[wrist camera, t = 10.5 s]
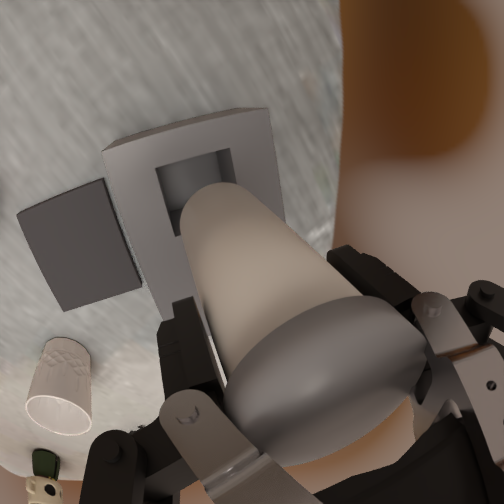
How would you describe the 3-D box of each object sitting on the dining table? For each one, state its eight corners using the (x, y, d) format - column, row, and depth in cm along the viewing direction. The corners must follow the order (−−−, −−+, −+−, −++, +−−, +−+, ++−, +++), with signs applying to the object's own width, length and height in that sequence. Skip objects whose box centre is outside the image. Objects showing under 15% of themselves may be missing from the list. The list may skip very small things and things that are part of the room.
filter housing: (114, 141, 25) (100, 151, 18) (238, 107, 27) (268, 108, 20) (167, 298, 34) (175, 346, 27) (266, 266, 36) (296, 305, 29)
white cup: (96, 379, 36) (94, 439, 27) (43, 371, 32) (33, 429, 24) (94, 337, 33) (88, 401, 24) (36, 328, 30) (18, 389, 21)
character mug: (74, 465, 44) (76, 517, 32) (50, 466, 42) (50, 516, 31) (42, 440, 38) (39, 499, 27) (18, 442, 37) (13, 497, 26)
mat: (19, 212, 24) (16, 215, 23) (103, 177, 26) (101, 179, 25) (65, 306, 30) (63, 312, 29) (141, 282, 32) (142, 287, 31)
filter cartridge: (162, 192, 15) (209, 399, 4) (257, 166, 16) (447, 291, 5) (188, 275, 17) (257, 482, 7) (271, 249, 18) (405, 412, 8)
